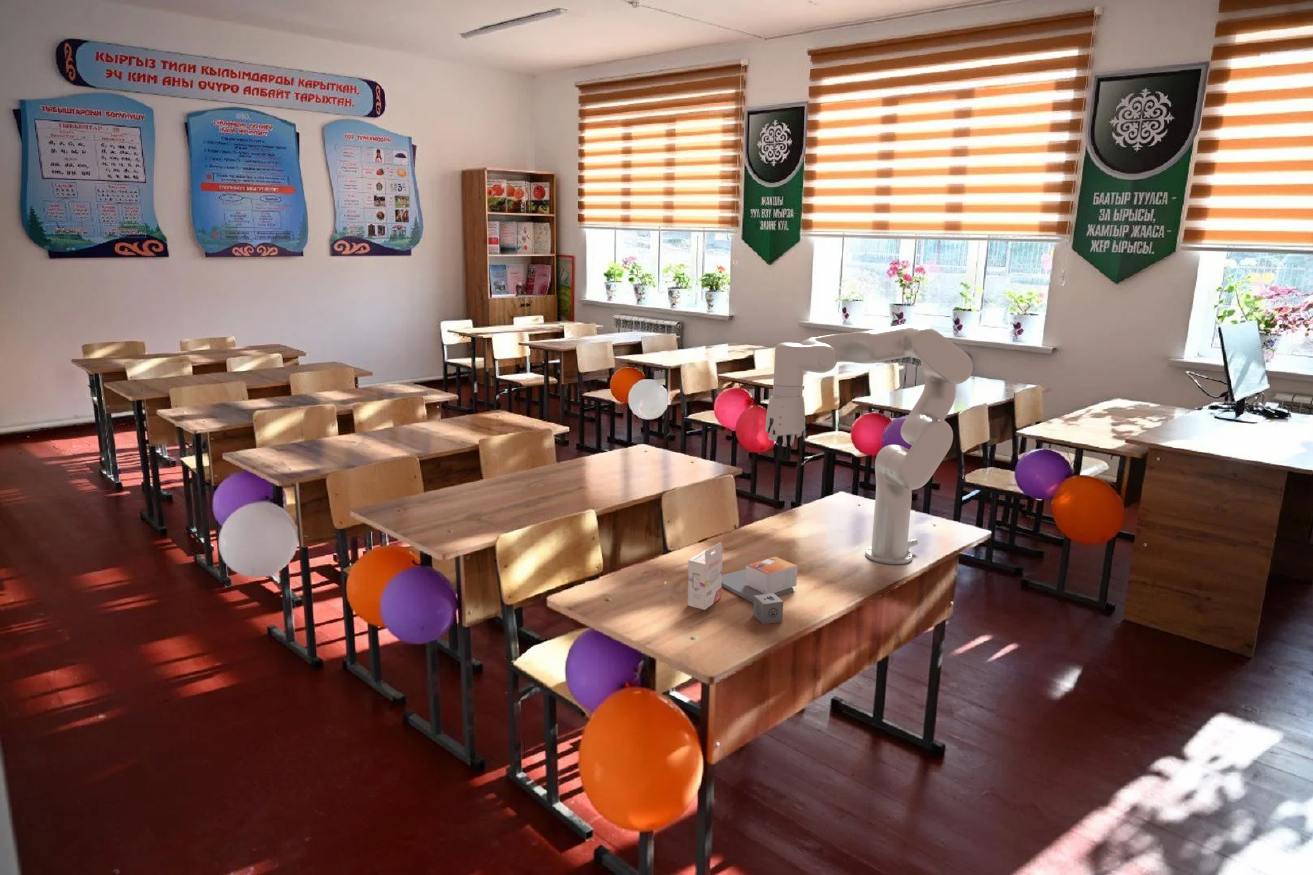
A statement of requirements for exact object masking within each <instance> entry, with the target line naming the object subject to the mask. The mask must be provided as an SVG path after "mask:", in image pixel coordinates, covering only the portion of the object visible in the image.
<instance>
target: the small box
mask: <svg viewBox="0 0 1313 875" xmlns="http://www.w3.org/2000/svg"><path fill="white" fill-rule="evenodd" d="M745 569H746V577H745V585H746V586H748V587H751V588H753V589H755V590H757V591H759V592H761V593H763V594H769V593H776V592H779V591H782V590H785V589H788V588H791V587H792V588H794V587H797V584H798V583H797V580H798V565H797V564H794V563H792V562H789V561H787V560H784V559H782V558H779V557H778V556H772V557H769V558H766V559H761V560H759V561H756V562H752V563H749V564H746V565H745Z"/></svg>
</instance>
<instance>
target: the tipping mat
mask: <svg viewBox="0 0 1313 875" xmlns="http://www.w3.org/2000/svg"><path fill="white" fill-rule="evenodd" d="M745 577H746V568H744V569H741V570H737V571H734V572H733V571H732V572H730V573H726V574H722V583H721V588H722V587H723V589H724V588H725V589H726V590H727V591H730V592H731V593H733V594H735V595H737V596H739V597H741V598H743V599H744V600H746V601H748V602H750V603H751V604H754V596H755V595H762V594H763V593H761V592H759V591H757V590H755V589H753V588H751V587H748V586H746V585H745ZM791 593H794V587H791V588H788V589H785V590H782V591H779V592H776V593H774V594H775V595H776V596H777V597H781V596H783V595H784V596H785V595H788V594H791Z"/></svg>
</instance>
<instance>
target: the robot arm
mask: <svg viewBox="0 0 1313 875" xmlns="http://www.w3.org/2000/svg"><path fill="white" fill-rule="evenodd" d="M904 358H914V359H916V360H917V359H918V360H919V361H920V365H921V370H922V374H923V376H924V386H923V387H924V388H923V390H922V393H921V395H920V397H919V398H918V400H917V401H916V403H915V404H914V406H913V407H912V409H911V411H910V412H909V414H908V415H907V417H906V418H905V419H904V421H903V423H902V424H901V427H900V436H901V438H902V439H903V441H904V442H906V443H907V444H908V445H911V447H910V448H907V447H905V446H903V445H899V444H889V445H885V446H883V447H882V448H881V449H880V450H879V451H878V453H877V454H876V457H875V460H874V461H875V462H874V470H875V471H874V472H875V486H876V487H875V500H874V509H873V510H874V514H873V522H872V523H873V524H872V535H871V537H872V538H871V546H868V547H867V548H866V549H865V556H866V558H868V559H869V560H871V561H874V562H877V563H880V564H886V565H905V564H908V563H910V562H911V561H912V560H913V554H912V552H911V551H910V548H911V547H912V548H913V547H916V546H918V544H919V542H918V540H917V539H916V538H912V539H909V531H910V530H909V529H910V523H911V522H910V520H911V509H912V501H913V500H912V498H913V496H912V495H913V494H912V491H914V490H918V489H921V488H922V487H923V486H925V485H926V484H927V483H928V482H929V481H930V480H931V478H932V476H933V475H934V473H935V472H936V470H937V469H938V467H939V466H940V464H941V463H942V461H943V460H944V459H945V457H946V455H947V454H948V452H949V450H950V449H951V447H952V444H953V440H954V431H953V429H952V427H951V425H950V424H949V423H948V422H947V421H946V418H947V416H948V414H949V412H950V411H951V409H952V407H953V405H954V403H955V400H956V394H957V390H956V385H958V384H963V383H965V382H967V381H968V380H969V378H970V377H972V376H971V375H972V373H973V369H974V366H973V361H972V359H971V357H970V356H969V355H968V354H967V353H966V352H965V351H963V350H962V349H961V348H960V347H959V346H957V345H955V344H954V343H953V342H952V341H951V340H949V339H948V338H947V337H945V335H942V334H941V333H940V332H938V331H937V330H935V329H934V328H932V327H930V326H925V325H921V324H916V323H905V324H901V325H899V324H898V325H894V326H888V327H884V328H876V329H870V330H866V331H854V332H848V333H836V334H835V333H834V334H828V335H823V336H817V337H810V338H807V339H804V340H802V341H801V342H799V343H798V342H788V341H787V342H780V343H778V344H777V345H775V349H774V365H773V366H774V368H773V381H772V382H773V384H772V386H773V387H772V395H771V396H770V397H769V400H768V404H767V409H766V415H765V416H766V417H765V428H764V429H765V433H768V437H767V438H768V440H770V441H773V442H774V441H775V443H776V445H777V447H778V449H777V459H778V460H780V461H782V462H790V461H791V460H792V459H791V458H792V446H793V445H794V443H795V440H796V439H797V438H800V437H802V435H803V431H804V429H805V422H806V411H805V410H806V408H805V398H804V396H803V391H804V389H805V385H804V373H805V372H811V373H815V374H817V373H819V374H823V373H825V374H826V373H828V372H830V371H832V370H833V369H834V368H835V367H836V366H837V363H843V362H844V363H845V362H846V363H856V364H861V365H862V364H866V365H867V364H876V363H881V362H887V361H893V360H897V359H904Z"/></svg>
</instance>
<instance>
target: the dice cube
mask: <svg viewBox="0 0 1313 875" xmlns="http://www.w3.org/2000/svg"><path fill="white" fill-rule="evenodd" d="M752 604H753V607H752V609H753V610H752V612H753V613H752V616H753V617H754V618H755V619H756V620H757V621H759V622H760V623H761V625H767V624H775V623H780V622H783V615H784V614H783V613H784V601H783V599H781V598H780V596H778V597H777V596H776V595H775V594H774V593H769V594H762V595H755V596H754V603H752Z"/></svg>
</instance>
